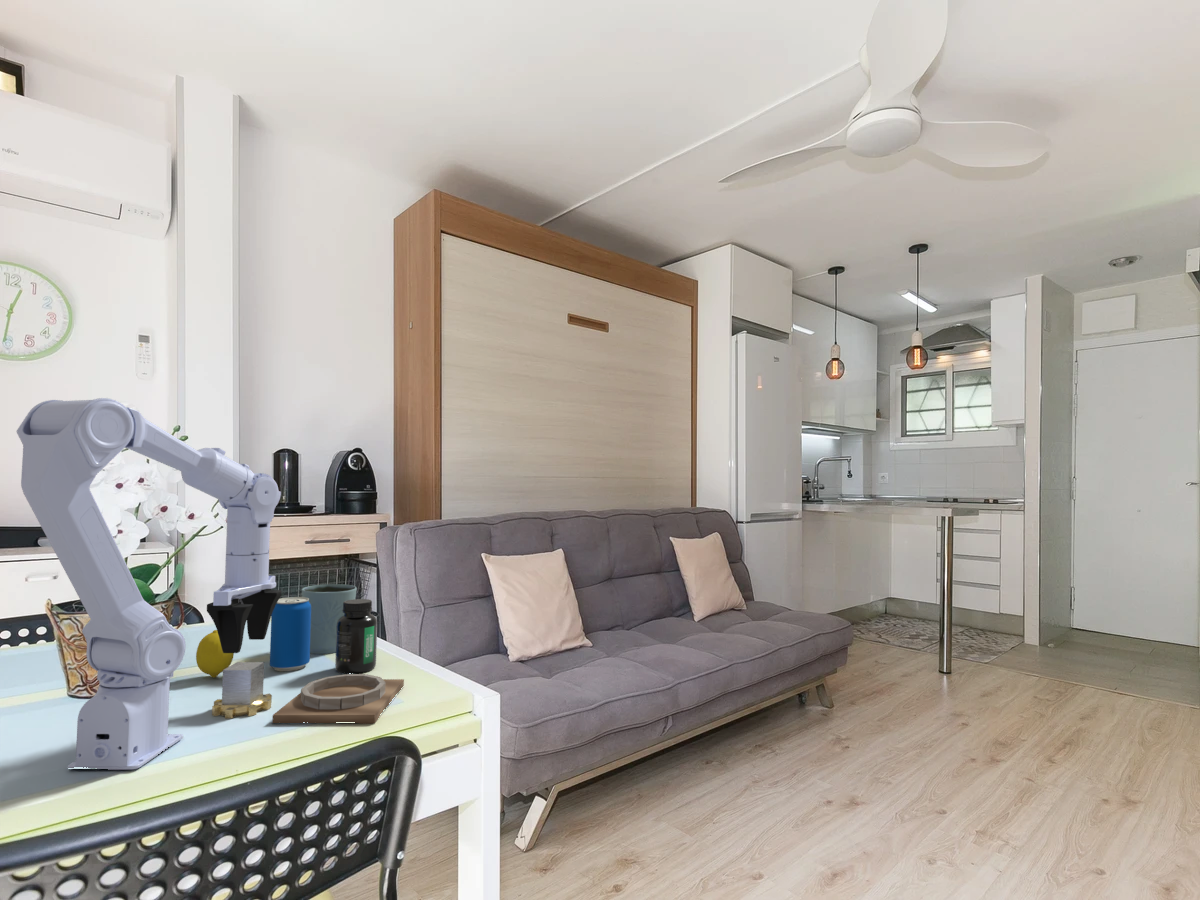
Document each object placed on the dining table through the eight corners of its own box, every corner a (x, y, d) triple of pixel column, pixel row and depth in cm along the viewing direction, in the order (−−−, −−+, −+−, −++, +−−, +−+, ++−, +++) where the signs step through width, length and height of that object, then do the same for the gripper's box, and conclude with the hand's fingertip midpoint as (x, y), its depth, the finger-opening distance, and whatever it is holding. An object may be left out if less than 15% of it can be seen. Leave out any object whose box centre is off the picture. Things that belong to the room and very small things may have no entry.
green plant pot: (292, 647, 131) (294, 586, 131) (343, 639, 138) (345, 581, 138) (310, 658, 123) (312, 594, 124) (363, 649, 130) (364, 588, 131)
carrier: (374, 723, 92) (375, 703, 92) (272, 723, 91) (273, 704, 91) (403, 686, 108) (404, 670, 108) (317, 686, 107) (317, 670, 107)
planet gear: (256, 718, 93) (258, 674, 93) (200, 718, 93) (202, 674, 93) (281, 699, 101) (282, 658, 101) (229, 699, 100) (230, 658, 101)
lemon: (215, 683, 108) (217, 634, 108) (187, 681, 109) (189, 632, 109) (240, 673, 113) (242, 627, 114) (213, 671, 114) (214, 625, 115)
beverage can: (310, 660, 122) (312, 595, 122) (308, 670, 116) (310, 602, 116) (271, 664, 119) (273, 597, 120) (267, 674, 113) (269, 604, 114)
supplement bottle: (379, 671, 116) (380, 603, 116) (337, 676, 112) (339, 606, 113) (372, 661, 122) (374, 596, 122) (333, 666, 118) (334, 599, 119)
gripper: (251, 559, 90) (248, 659, 90) (295, 548, 105) (292, 633, 104) (199, 559, 90) (195, 659, 90) (250, 547, 105) (247, 633, 104)
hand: (244, 645), depth 97 cm, fingers open, 7 cm apart
